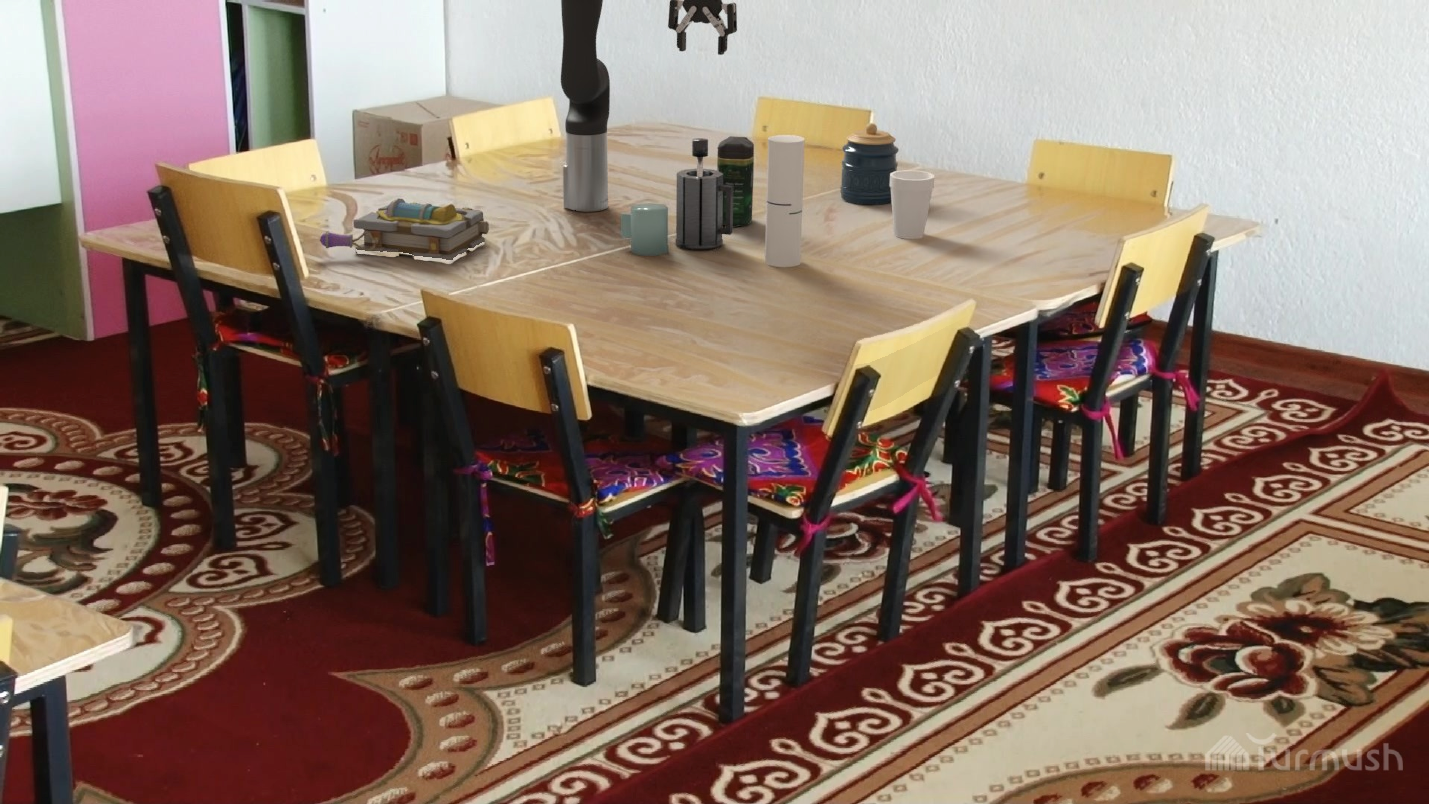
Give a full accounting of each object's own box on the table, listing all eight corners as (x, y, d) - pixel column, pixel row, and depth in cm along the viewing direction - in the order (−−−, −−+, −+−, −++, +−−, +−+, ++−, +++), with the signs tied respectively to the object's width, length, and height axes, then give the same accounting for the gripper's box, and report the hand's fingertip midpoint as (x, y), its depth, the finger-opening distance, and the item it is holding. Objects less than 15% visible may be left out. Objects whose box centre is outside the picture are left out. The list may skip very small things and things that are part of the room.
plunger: (687, 225, 325) (687, 141, 319) (693, 221, 329) (694, 137, 322) (705, 227, 324) (706, 142, 318) (711, 222, 327) (712, 138, 321)
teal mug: (615, 252, 322) (614, 209, 318) (629, 243, 328) (628, 200, 325) (659, 257, 319) (659, 214, 315) (673, 247, 325) (673, 205, 322)
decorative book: (380, 232, 337) (377, 183, 333) (494, 242, 329) (491, 192, 326) (318, 261, 314) (314, 209, 311) (438, 273, 307) (435, 220, 303)
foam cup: (935, 231, 340) (938, 172, 335) (925, 242, 332) (929, 181, 327) (891, 227, 343) (895, 168, 338) (881, 238, 334) (885, 177, 330)
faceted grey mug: (668, 248, 325) (668, 176, 320) (685, 236, 334) (685, 166, 328) (723, 254, 321) (724, 181, 316) (738, 242, 330) (739, 171, 325)
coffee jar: (750, 228, 340) (752, 143, 334) (713, 227, 341) (715, 142, 334) (754, 217, 349) (756, 134, 343) (718, 216, 350) (720, 133, 343)
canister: (905, 197, 369) (909, 122, 362) (880, 208, 358) (884, 131, 352) (856, 189, 375) (859, 115, 369) (829, 200, 365) (832, 124, 358)
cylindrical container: (763, 257, 319) (766, 134, 310) (798, 257, 320) (802, 134, 311) (767, 267, 313) (770, 142, 304) (802, 266, 313) (806, 142, 304)
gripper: (664, -29, 318) (663, 52, 324) (730, -25, 314) (728, 58, 320) (677, -33, 325) (676, 47, 331) (742, -28, 321) (740, 52, 327)
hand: (701, 52), depth 325 cm, fingers open, 8 cm apart
